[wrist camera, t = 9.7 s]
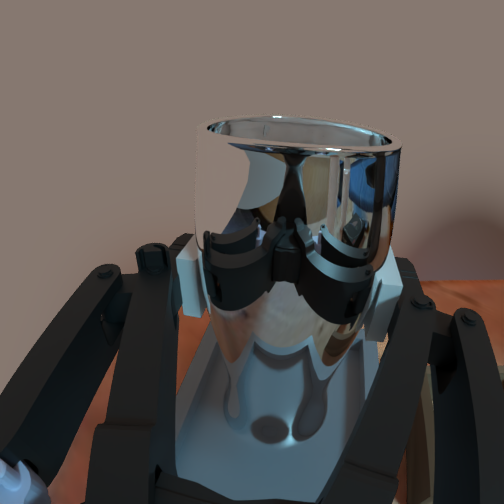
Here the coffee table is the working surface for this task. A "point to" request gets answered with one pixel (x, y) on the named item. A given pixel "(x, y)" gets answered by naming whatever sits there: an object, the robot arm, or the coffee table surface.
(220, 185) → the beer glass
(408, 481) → the walnut holder
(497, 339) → the coffee table surface
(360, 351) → the slate tray
